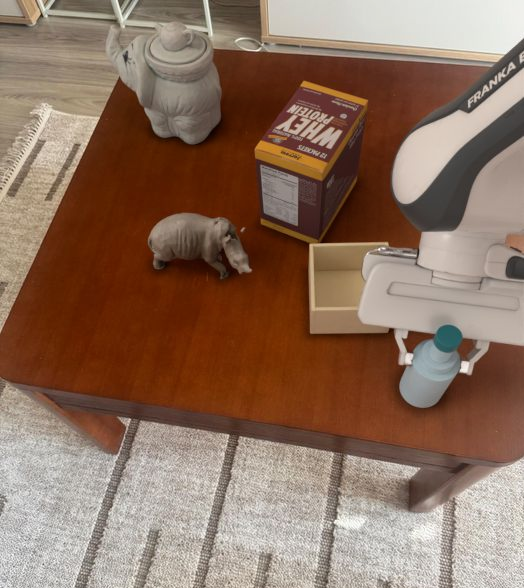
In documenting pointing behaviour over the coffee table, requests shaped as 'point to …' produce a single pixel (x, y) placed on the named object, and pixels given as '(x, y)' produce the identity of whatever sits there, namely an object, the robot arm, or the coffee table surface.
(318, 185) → the supplement box
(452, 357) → the bottle
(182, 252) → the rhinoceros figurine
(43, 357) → the coffee table surface
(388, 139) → the coffee table surface
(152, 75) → the teapot
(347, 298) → the open box
